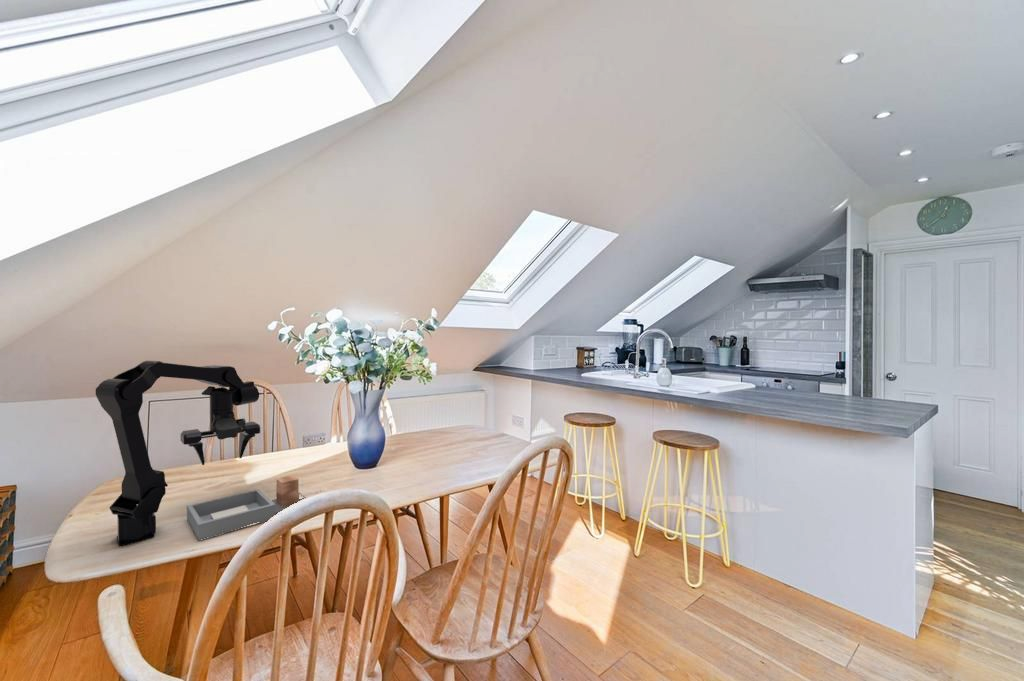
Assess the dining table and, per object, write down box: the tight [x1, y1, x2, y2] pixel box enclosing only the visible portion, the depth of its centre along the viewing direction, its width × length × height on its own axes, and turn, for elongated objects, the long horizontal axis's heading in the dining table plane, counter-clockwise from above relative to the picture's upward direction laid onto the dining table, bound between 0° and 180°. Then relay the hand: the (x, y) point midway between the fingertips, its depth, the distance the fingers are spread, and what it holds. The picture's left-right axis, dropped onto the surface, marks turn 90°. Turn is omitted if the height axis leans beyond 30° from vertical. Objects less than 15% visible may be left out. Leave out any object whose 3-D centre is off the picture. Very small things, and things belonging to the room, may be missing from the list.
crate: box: [186, 488, 277, 541], centre depth 114 cm, size 17×15×4 cm
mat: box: [270, 495, 305, 514], centre depth 124 cm, size 10×10×1 cm
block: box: [275, 474, 300, 507], centre depth 124 cm, size 4×4×7 cm
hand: (222, 461), depth 125 cm, fingers open, 9 cm apart
